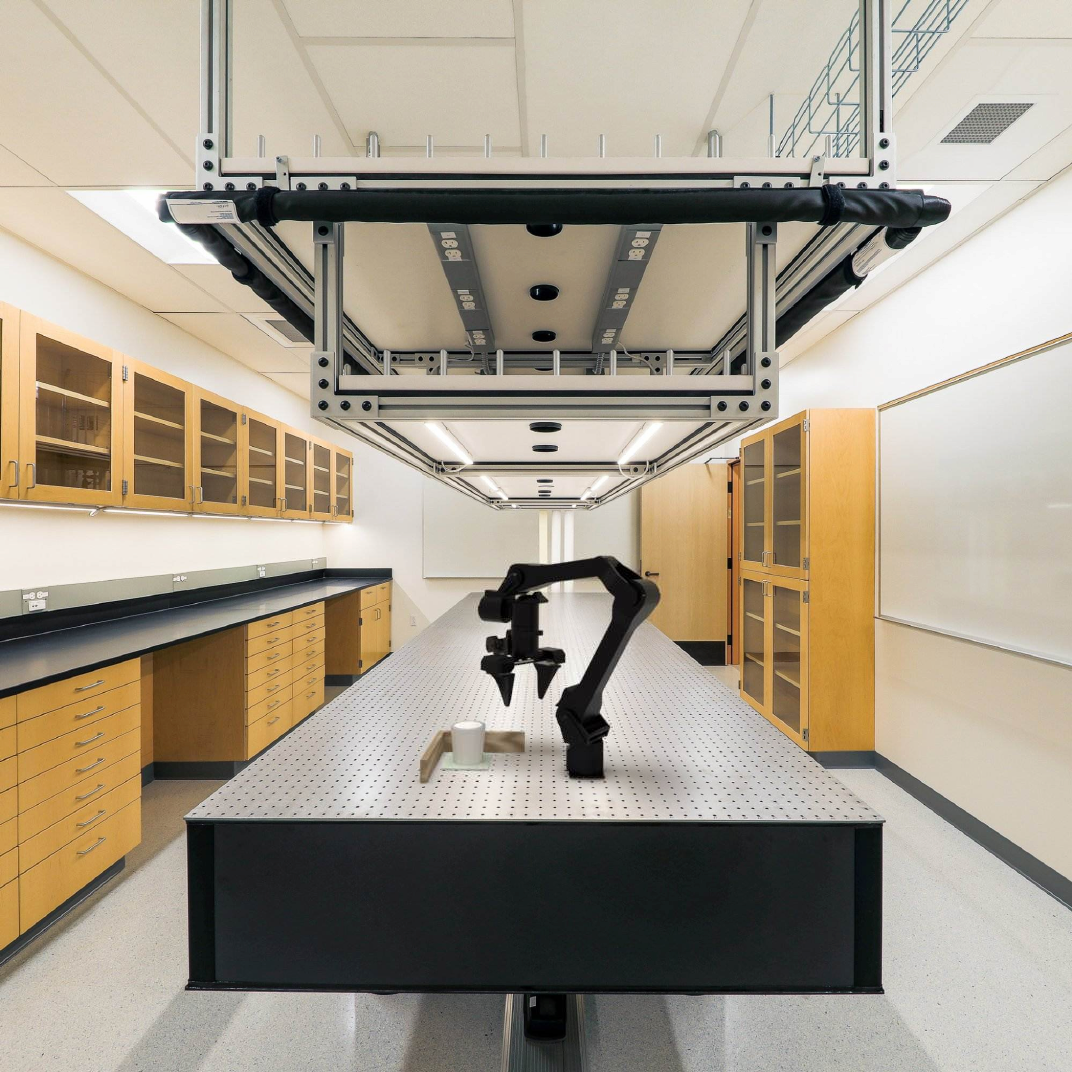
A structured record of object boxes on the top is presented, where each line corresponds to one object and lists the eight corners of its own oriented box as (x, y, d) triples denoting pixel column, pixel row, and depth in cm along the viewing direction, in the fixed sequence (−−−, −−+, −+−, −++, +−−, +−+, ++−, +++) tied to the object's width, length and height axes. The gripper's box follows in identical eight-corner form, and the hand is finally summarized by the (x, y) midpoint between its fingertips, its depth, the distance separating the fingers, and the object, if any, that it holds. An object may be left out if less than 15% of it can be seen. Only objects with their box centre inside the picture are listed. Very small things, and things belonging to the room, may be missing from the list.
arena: (524, 750, 124) (524, 731, 124) (520, 784, 106) (520, 761, 106) (438, 749, 124) (439, 730, 124) (419, 782, 106) (420, 760, 106)
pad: (492, 754, 121) (492, 753, 121) (487, 770, 112) (487, 768, 112) (448, 753, 121) (448, 752, 122) (440, 769, 112) (440, 768, 113)
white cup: (468, 752, 122) (468, 717, 122) (492, 759, 117) (493, 723, 118) (442, 761, 116) (443, 725, 117) (467, 769, 112) (468, 731, 112)
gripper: (531, 618, 133) (530, 688, 132) (463, 624, 120) (462, 702, 119) (567, 623, 125) (567, 697, 124) (499, 630, 112) (498, 713, 111)
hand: (524, 702), depth 120 cm, fingers open, 9 cm apart
